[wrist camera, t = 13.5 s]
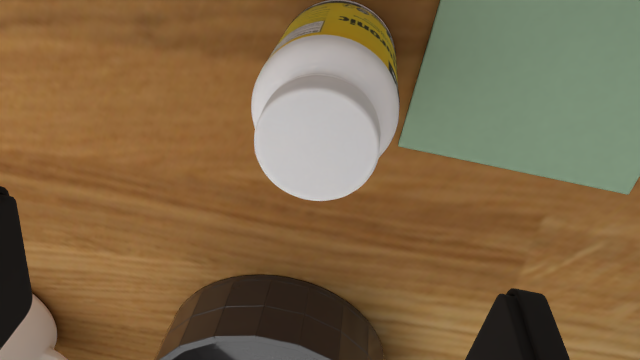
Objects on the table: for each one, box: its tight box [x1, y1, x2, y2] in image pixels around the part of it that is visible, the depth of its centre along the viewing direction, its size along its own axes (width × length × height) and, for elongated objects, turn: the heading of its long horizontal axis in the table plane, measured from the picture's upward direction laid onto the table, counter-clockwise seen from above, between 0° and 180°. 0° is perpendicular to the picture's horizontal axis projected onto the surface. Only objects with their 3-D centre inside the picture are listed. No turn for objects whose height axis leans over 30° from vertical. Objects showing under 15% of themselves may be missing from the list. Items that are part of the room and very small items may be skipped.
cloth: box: [398, 0, 640, 194], centre depth 23 cm, size 12×14×1 cm
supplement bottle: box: [251, 0, 400, 201], centre depth 20 cm, size 5×5×10 cm
